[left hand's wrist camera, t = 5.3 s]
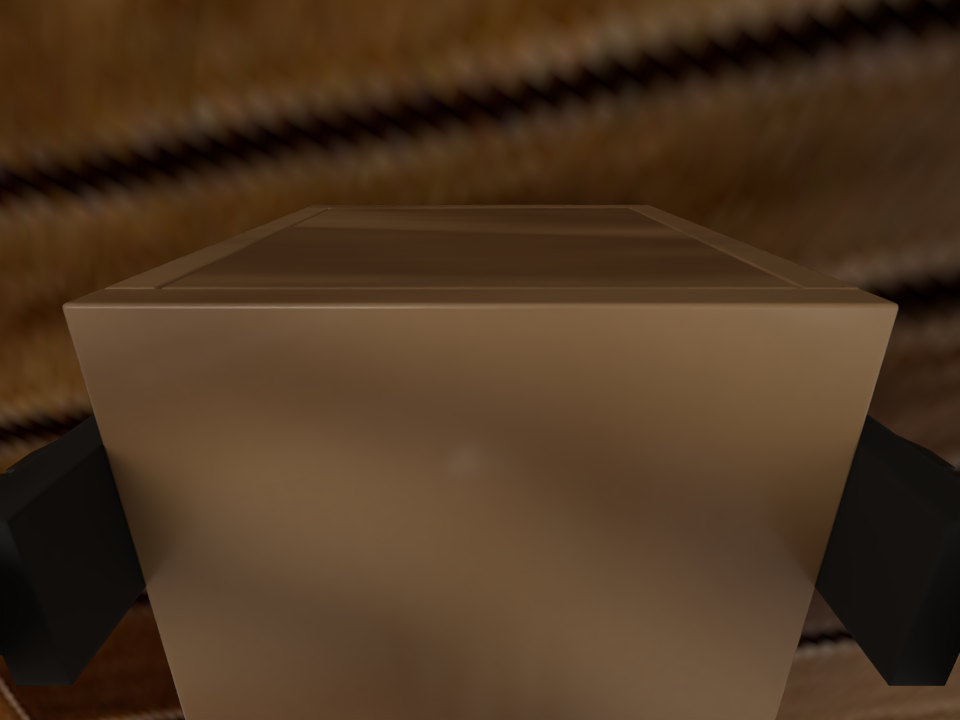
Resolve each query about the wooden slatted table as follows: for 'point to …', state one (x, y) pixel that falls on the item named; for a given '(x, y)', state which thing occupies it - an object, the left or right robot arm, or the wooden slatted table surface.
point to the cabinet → (480, 461)
